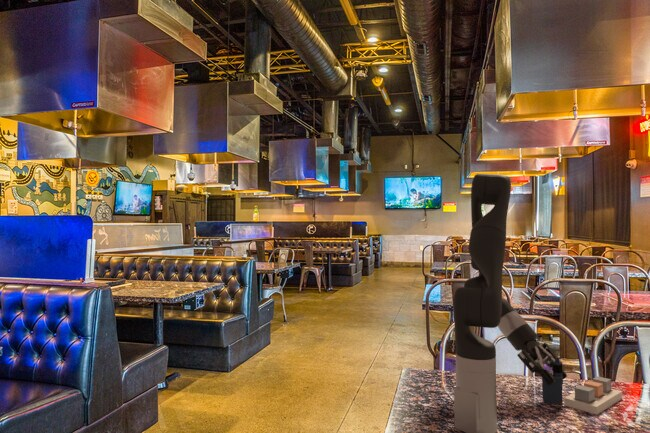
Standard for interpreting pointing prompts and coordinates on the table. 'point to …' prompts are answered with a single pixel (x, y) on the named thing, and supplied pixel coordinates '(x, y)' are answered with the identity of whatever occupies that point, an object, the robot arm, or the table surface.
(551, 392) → the vaping device
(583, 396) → the key left
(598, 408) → the keypad base
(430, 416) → the table surface
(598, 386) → the key mid
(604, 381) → the key right
